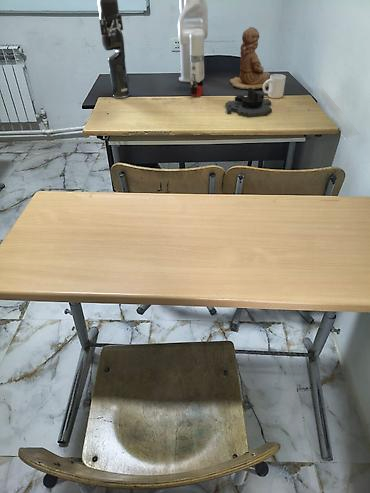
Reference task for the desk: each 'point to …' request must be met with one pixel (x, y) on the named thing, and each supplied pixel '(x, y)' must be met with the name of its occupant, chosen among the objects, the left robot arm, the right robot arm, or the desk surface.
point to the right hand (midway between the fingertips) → (197, 91)
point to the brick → (198, 91)
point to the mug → (275, 86)
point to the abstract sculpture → (249, 104)
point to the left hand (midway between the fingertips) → (114, 44)
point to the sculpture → (250, 63)
